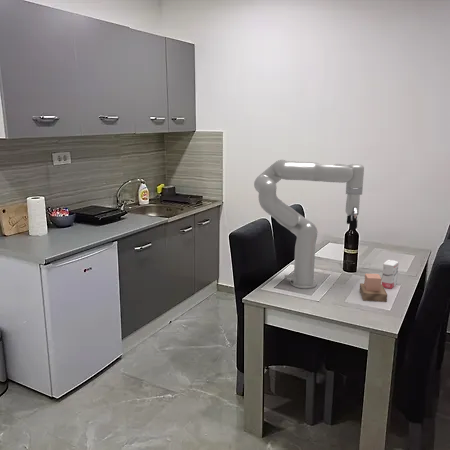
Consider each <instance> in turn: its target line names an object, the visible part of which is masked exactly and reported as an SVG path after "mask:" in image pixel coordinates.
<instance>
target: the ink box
mask: <svg viewBox="0 0 450 450" xmlns="http://www.w3.org/2000/svg"><path fill="white" fill-rule="evenodd" d="M399 262H400V261H397V260H394V259H387V260H386V261H385V262H383V265H382V266H383V267H382V277H381V278H382V280H381V285H383V287H384V289H390V290H392V289H393V288H394V287H395V286H396V285H397V283H398V273H399V264H400V263H399Z"/></svg>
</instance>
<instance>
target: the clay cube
mask: <svg viewBox="0 0 450 450" xmlns="http://www.w3.org/2000/svg"><path fill="white" fill-rule="evenodd" d="M363 281H364V282H363V284H364V287H365V288H366V290H367V291H381V285H382V277H381V275H380V274H379V273H365V274H364V280H363Z"/></svg>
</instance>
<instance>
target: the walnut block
mask: <svg viewBox="0 0 450 450" xmlns="http://www.w3.org/2000/svg"><path fill="white" fill-rule="evenodd" d="M359 293H360V295H361V299H362V301H365V302H366V301H367V302H368V301H369V302H380V303H381V302H383V303H387V301H388V293H387V291H386V288H384V287H383V285H382V284H381V291H367V290H366V288H365V287H364V282H363V283H359Z"/></svg>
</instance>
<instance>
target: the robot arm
mask: <svg viewBox="0 0 450 450" xmlns="http://www.w3.org/2000/svg"><path fill="white" fill-rule="evenodd" d="M364 174H365V167H364V165H363V164H359V163H358V164H355V163H354V164H353V163H352V164H341V163H335V164H333V165H329V164H324V163H323V164H322V163H319V162H313V161H295V160H292V161H290V160H286V159H279V160H276V161H275V162H274V163H273V164H271V165H270V166H269V167H267V168H266V169H265V170H264V171H263V172H261V173H260V174H259V175H258V176H257V177H256V178H255V180H254V182H253V186H254V189H255V191H256V192H257V193H258V203H259V205H260V207H261V209H263V211H264V212H265V213H266V214H268V215H269V216H270V217H271V218H273V219H274V220H275V221H276V222H277V223H278V224H280V225H281V226H282V227H284V228H285V229H287V230H288V231H290V232H291V233H292V234H294V236H296V240H295V246H294V265H293V268H294V269H293V272H292V274H284V280H287V281H290V285H291V286H292V287H295V288H297V289H313V288H315V287H317V284H318V282H317V281H316V280H315V279H314V277H315V259H316V257H315V255H316V245H317V239H318V238H317V237H318V229H317V227H316V225H315V224H314V223H313V222H312V221H311V220H309V219H307V218H306V217H304V216H303V215H302V214H300V213H299V212H298V211H296V210H295V209H294V208H293V207H291V206H290V205H288V204H286V203H285V202H283V201H282V200H281V199H280V198H278V196H277V187H278V186H277V184H278V183H279V182H280V181H281V180H286V181H308V182H309V181H310V182H323V183H325V182H326V183H339V184H341V183H344V184H345V195H346V199H345V200H346V201H345V202H346V203H345V214H346V215H347V216H346V224H347V225H349V229H350V230H353V229H354V230H355V229H356V230H357V229H358V216H359V213H360V201H361V200H360V198H361V196H362V195H363V186H364Z"/></svg>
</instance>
